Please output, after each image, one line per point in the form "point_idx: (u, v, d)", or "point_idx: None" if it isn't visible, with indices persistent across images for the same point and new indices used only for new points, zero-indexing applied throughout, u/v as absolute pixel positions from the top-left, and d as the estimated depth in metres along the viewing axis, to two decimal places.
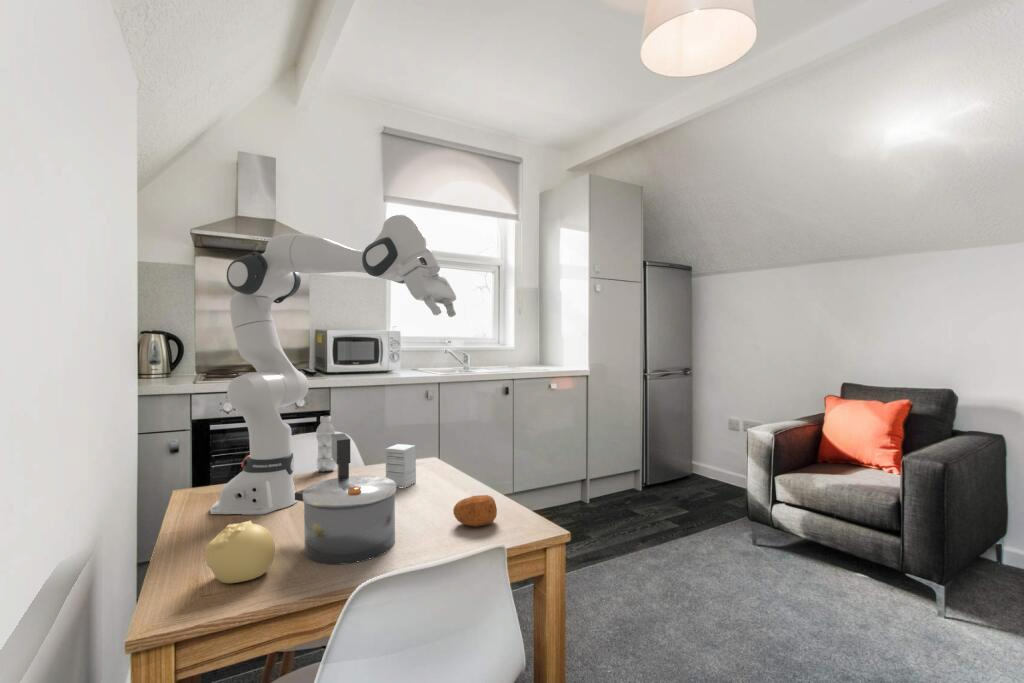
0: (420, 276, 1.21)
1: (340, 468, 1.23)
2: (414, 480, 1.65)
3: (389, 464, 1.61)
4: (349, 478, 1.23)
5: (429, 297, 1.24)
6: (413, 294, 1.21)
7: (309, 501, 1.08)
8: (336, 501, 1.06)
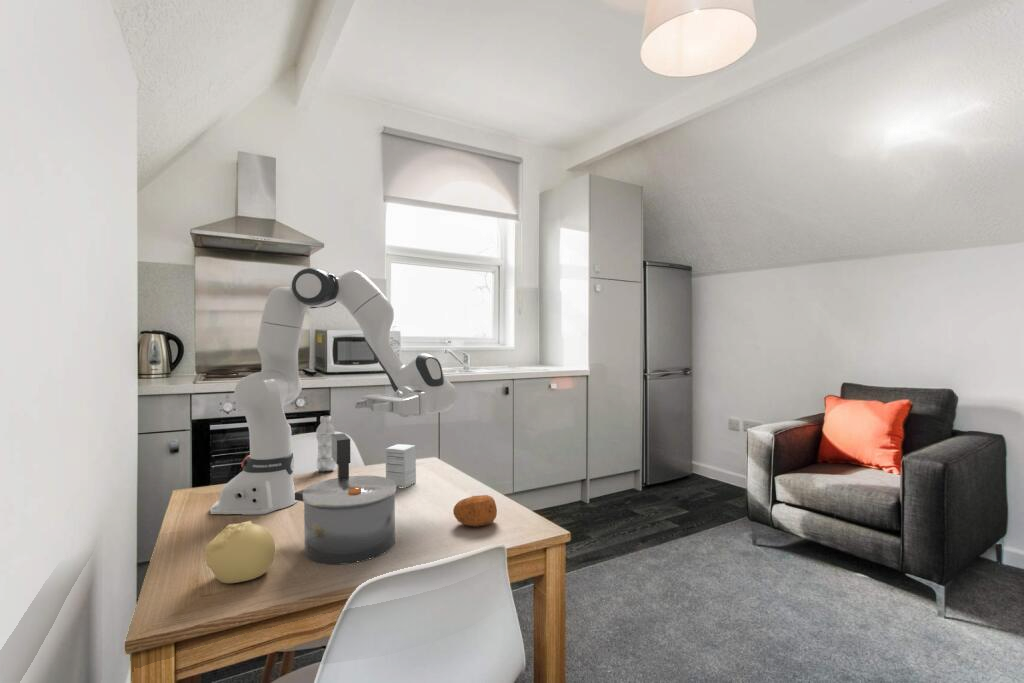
0: (413, 413, 1.33)
1: (340, 468, 1.23)
2: (414, 480, 1.65)
3: (389, 464, 1.61)
4: (349, 478, 1.23)
5: (390, 409, 1.31)
6: (404, 402, 1.30)
7: (309, 501, 1.08)
8: (336, 501, 1.06)
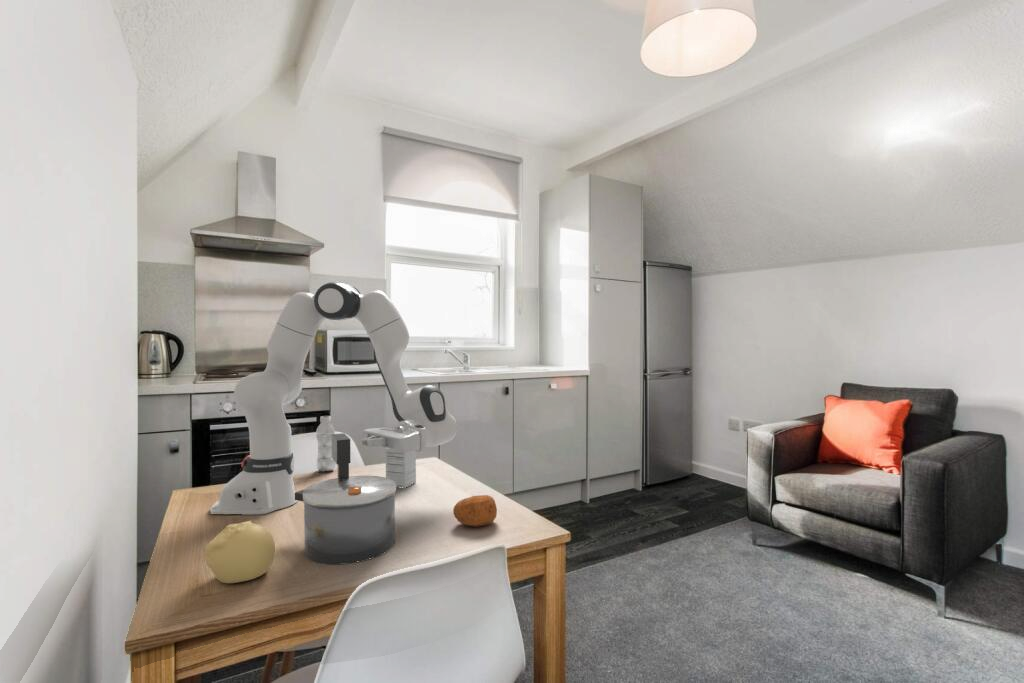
0: (413, 450, 1.33)
1: (340, 468, 1.23)
2: (414, 480, 1.65)
3: (389, 464, 1.61)
4: (349, 478, 1.23)
5: (384, 444, 1.34)
6: (405, 439, 1.30)
7: (309, 501, 1.08)
8: (336, 501, 1.06)
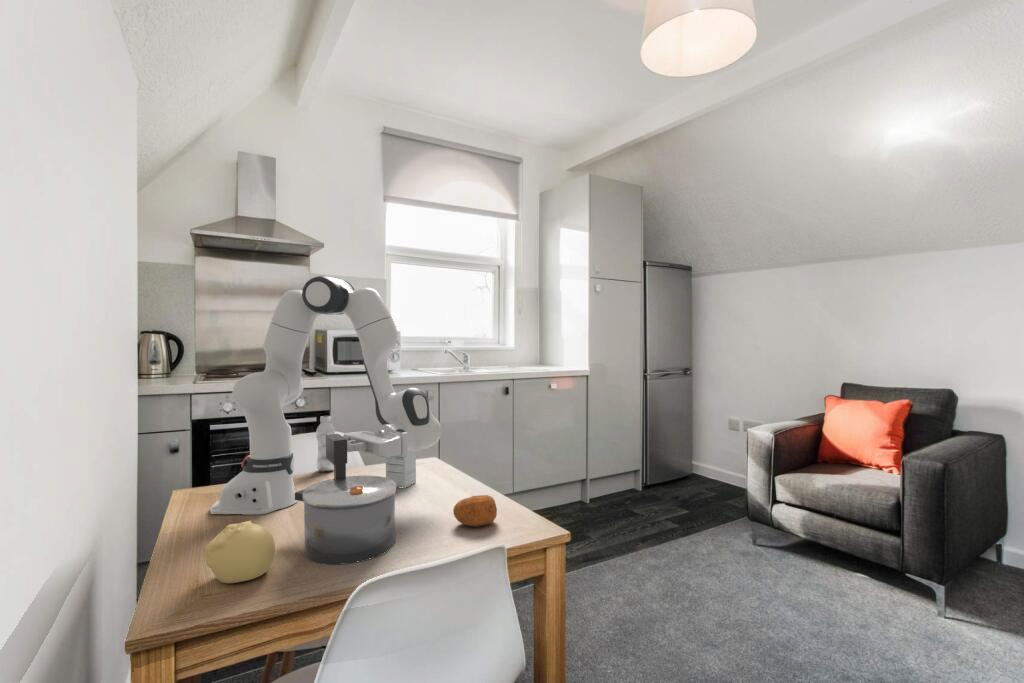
0: (394, 455, 1.29)
1: (337, 468, 1.23)
2: (414, 480, 1.65)
3: (389, 464, 1.61)
4: (346, 478, 1.23)
5: (364, 449, 1.30)
6: (385, 444, 1.26)
7: (311, 502, 1.07)
8: (340, 501, 1.06)
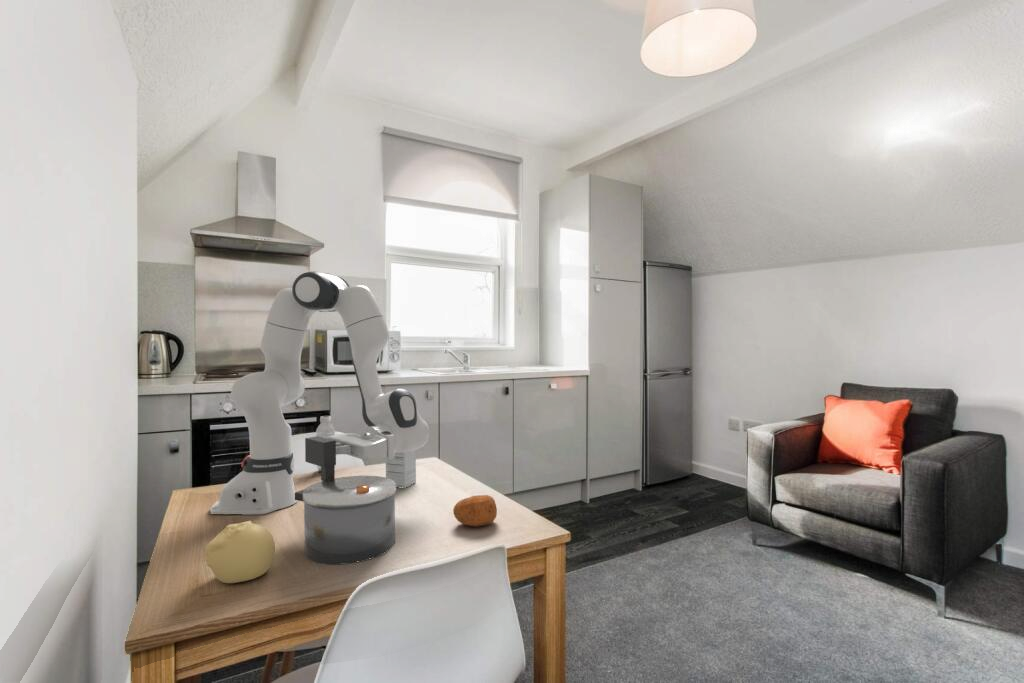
0: (379, 458, 1.25)
1: (327, 471, 1.21)
2: (414, 480, 1.65)
3: (389, 464, 1.61)
4: (336, 480, 1.22)
5: (349, 452, 1.26)
6: (370, 447, 1.23)
7: (322, 504, 1.06)
8: (355, 500, 1.06)
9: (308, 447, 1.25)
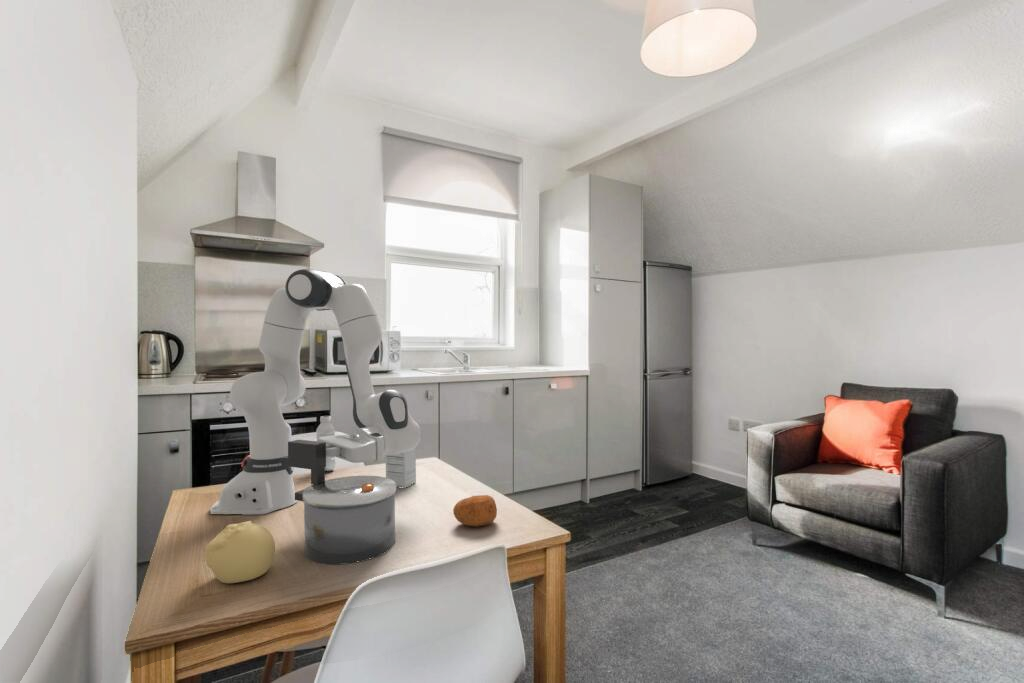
0: (368, 461, 1.23)
1: (318, 473, 1.19)
2: (414, 480, 1.65)
3: (389, 464, 1.61)
4: (327, 482, 1.20)
5: (337, 454, 1.24)
6: (358, 449, 1.20)
7: (335, 504, 1.05)
8: (368, 498, 1.08)
9: (292, 451, 1.21)
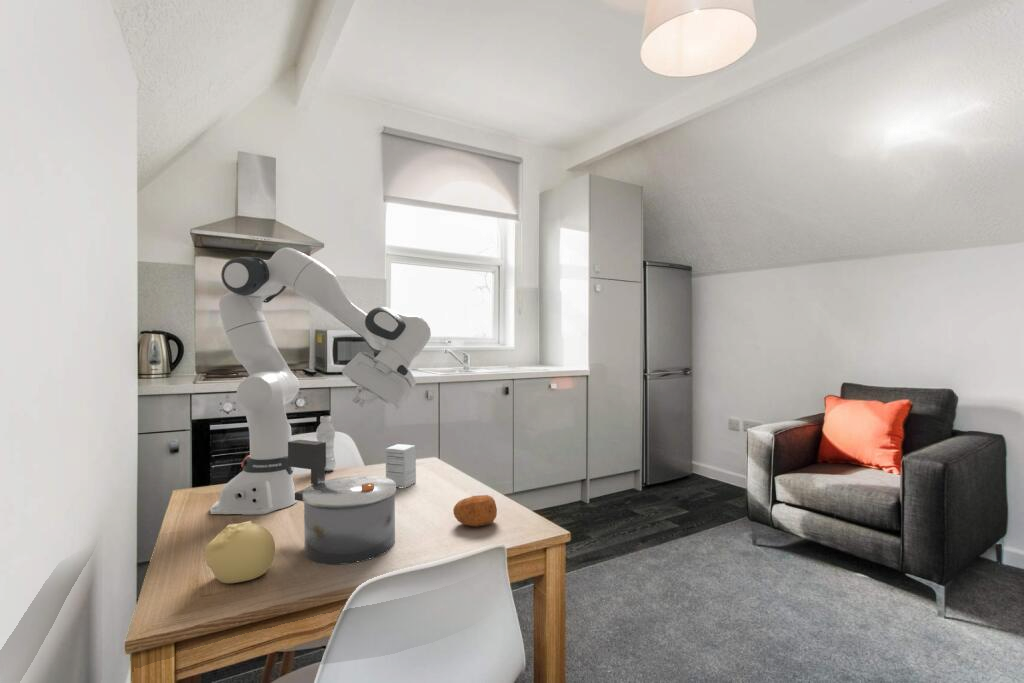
0: None
1: (318, 473, 1.19)
2: (414, 480, 1.65)
3: (389, 464, 1.61)
4: (327, 482, 1.20)
5: (377, 398, 1.35)
6: (399, 402, 1.32)
7: (335, 504, 1.05)
8: (368, 498, 1.08)
9: (292, 451, 1.21)
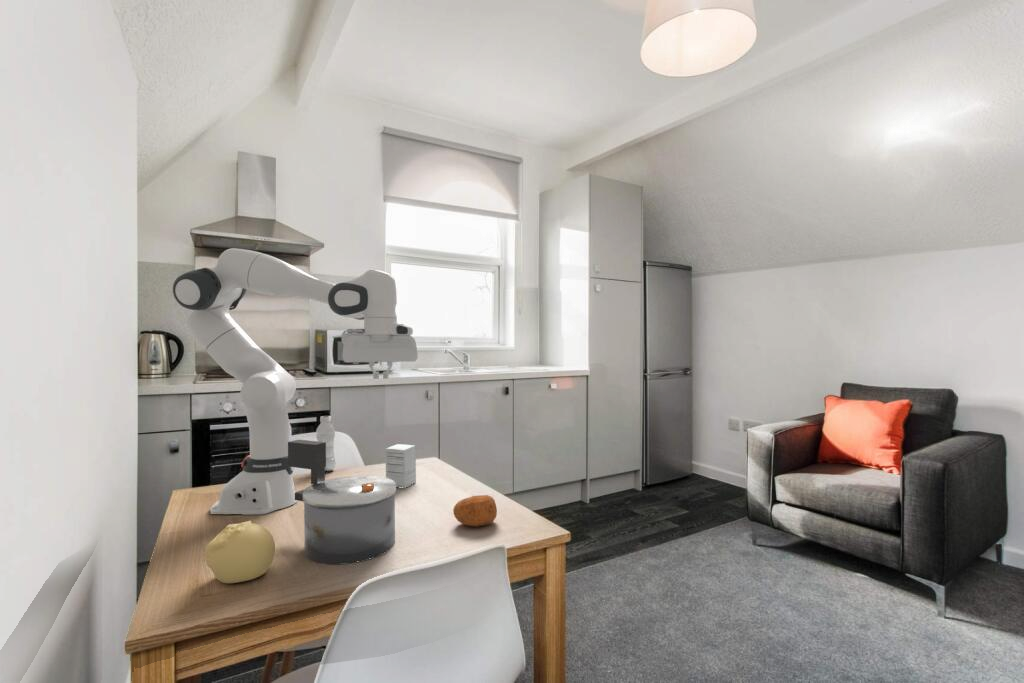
0: None
1: (318, 473, 1.19)
2: (414, 480, 1.65)
3: (389, 464, 1.61)
4: (327, 482, 1.20)
5: None
6: None
7: (335, 504, 1.05)
8: (368, 498, 1.08)
9: (292, 451, 1.21)
